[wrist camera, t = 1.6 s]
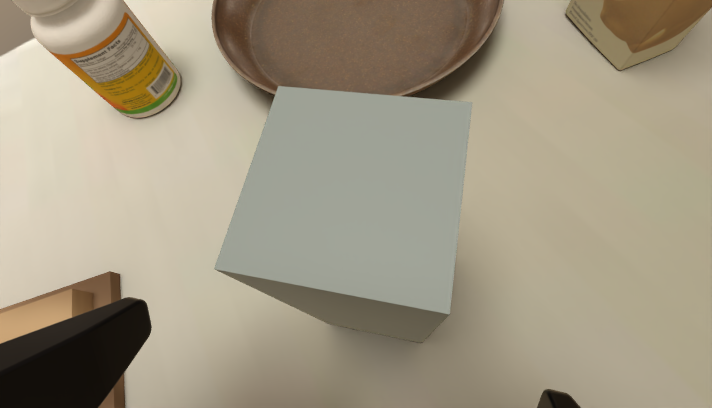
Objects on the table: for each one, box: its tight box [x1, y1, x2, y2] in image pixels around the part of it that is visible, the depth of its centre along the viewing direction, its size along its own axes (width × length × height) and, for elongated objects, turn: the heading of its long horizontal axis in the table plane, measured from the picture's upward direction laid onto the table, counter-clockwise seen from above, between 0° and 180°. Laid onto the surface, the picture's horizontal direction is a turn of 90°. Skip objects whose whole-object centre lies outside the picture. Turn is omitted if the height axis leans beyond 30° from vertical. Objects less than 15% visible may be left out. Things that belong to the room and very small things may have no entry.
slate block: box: [214, 86, 472, 343], centre depth 14 cm, size 5×5×13 cm
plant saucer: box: [212, 0, 504, 97], centre depth 27 cm, size 21×21×3 cm
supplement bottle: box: [11, 0, 180, 118], centre depth 24 cm, size 5×5×10 cm
